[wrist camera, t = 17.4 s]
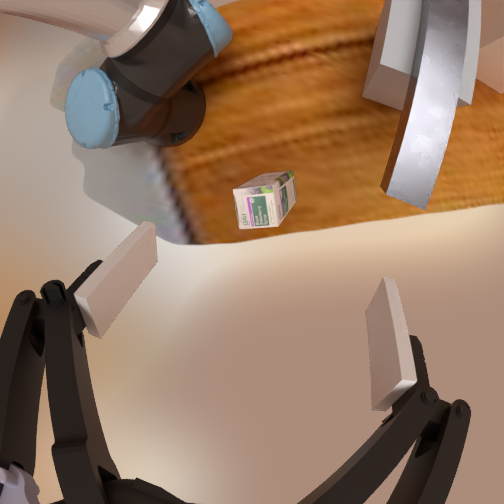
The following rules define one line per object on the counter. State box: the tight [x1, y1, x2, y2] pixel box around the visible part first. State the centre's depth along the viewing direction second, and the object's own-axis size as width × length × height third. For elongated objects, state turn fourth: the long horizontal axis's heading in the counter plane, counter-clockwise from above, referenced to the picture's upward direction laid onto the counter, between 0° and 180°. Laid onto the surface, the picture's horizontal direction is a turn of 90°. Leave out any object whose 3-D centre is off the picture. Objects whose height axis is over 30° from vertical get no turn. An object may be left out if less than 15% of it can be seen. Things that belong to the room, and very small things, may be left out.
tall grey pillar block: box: [362, 0, 481, 111], centre depth 25 cm, size 9×14×24 cm, turn 167°
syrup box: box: [233, 170, 296, 229], centre depth 44 cm, size 6×6×14 cm
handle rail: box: [380, 0, 469, 210], centre depth 15 cm, size 4×26×4 cm, turn 167°
